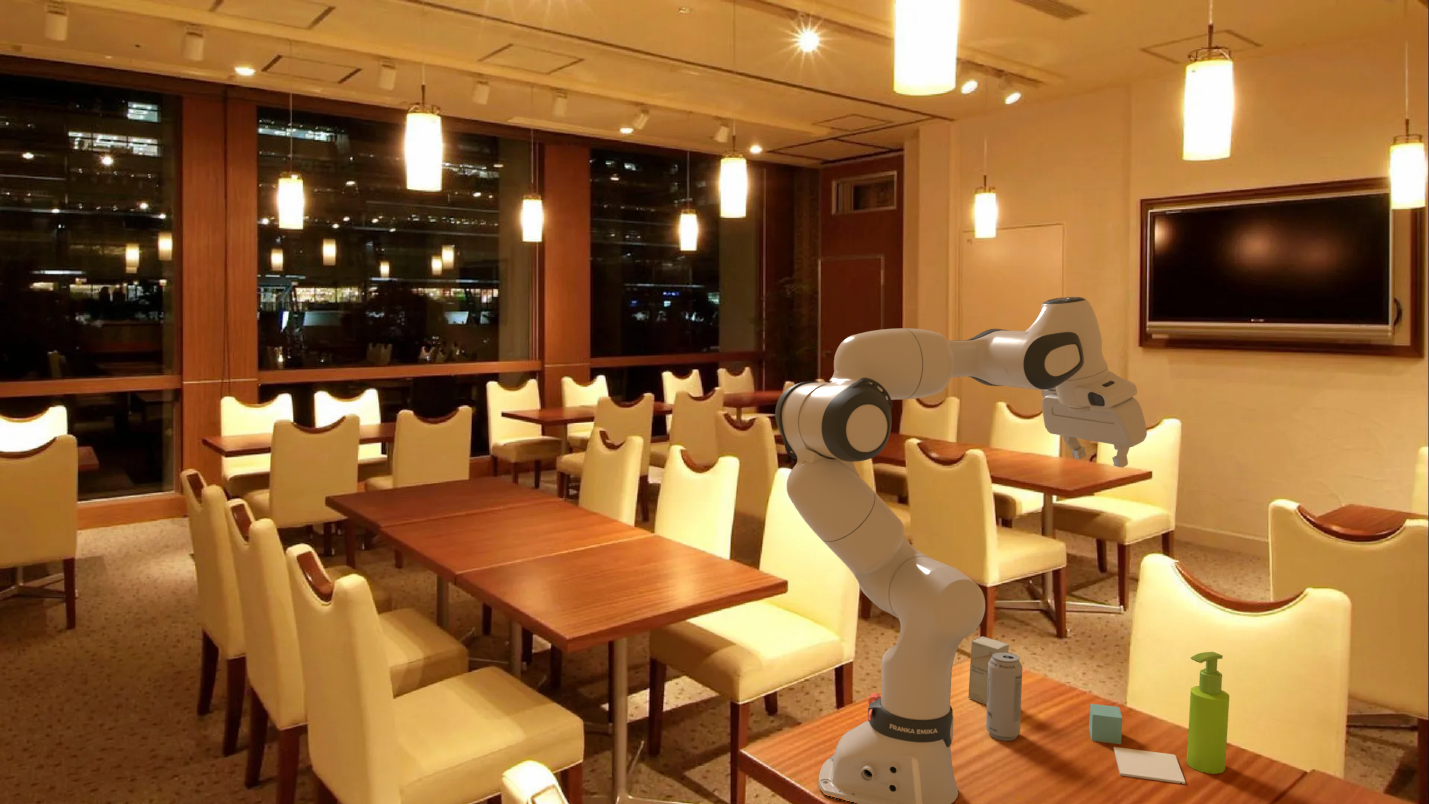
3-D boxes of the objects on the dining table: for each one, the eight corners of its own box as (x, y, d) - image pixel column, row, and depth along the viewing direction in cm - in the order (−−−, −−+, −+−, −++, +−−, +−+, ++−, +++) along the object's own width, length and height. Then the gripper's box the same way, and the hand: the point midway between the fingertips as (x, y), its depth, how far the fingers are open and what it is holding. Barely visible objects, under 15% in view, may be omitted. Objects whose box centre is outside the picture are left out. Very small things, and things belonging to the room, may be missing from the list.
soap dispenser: (1174, 762, 164) (1180, 650, 162) (1203, 755, 167) (1210, 645, 165) (1203, 777, 159) (1209, 662, 157) (1233, 770, 162) (1239, 657, 160)
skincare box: (967, 698, 191) (969, 640, 190) (979, 692, 194) (981, 635, 193) (995, 708, 186) (997, 648, 185) (1007, 702, 189) (1009, 643, 188)
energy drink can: (988, 725, 179) (991, 648, 177) (1021, 731, 176) (1024, 653, 175) (983, 738, 173) (985, 659, 172) (1017, 744, 171) (1020, 664, 169)
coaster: (1120, 775, 160) (1120, 773, 160) (1113, 748, 169) (1113, 746, 169) (1185, 784, 157) (1185, 781, 157) (1174, 756, 166) (1175, 754, 166)
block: (1091, 740, 173) (1092, 714, 172) (1089, 729, 177) (1090, 703, 177) (1121, 744, 171) (1122, 718, 171) (1117, 732, 176) (1119, 707, 175)
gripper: (1027, 389, 170) (1044, 459, 173) (1116, 399, 151) (1133, 478, 154) (1053, 376, 172) (1069, 446, 175) (1144, 385, 153) (1160, 463, 156)
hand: (1100, 461), depth 164 cm, fingers open, 8 cm apart
